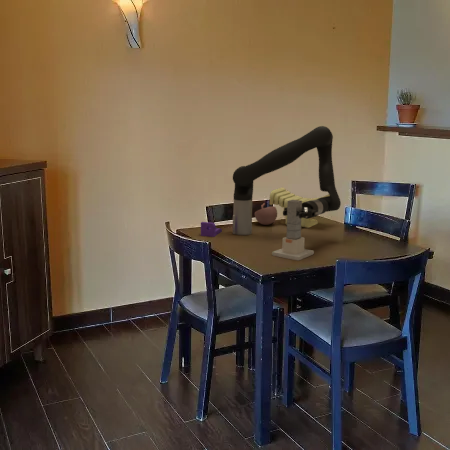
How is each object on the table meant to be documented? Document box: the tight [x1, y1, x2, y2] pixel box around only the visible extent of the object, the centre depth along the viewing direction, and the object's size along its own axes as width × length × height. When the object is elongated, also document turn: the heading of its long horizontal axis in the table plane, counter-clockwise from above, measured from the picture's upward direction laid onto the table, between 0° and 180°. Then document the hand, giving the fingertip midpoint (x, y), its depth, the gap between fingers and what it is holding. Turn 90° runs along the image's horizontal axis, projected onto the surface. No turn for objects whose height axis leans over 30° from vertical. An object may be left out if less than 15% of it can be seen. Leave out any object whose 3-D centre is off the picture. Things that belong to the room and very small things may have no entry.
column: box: [286, 200, 302, 240], centre depth 246 cm, size 5×5×22 cm
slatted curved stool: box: [269, 186, 330, 229], centre depth 305 cm, size 30×16×18 cm, turn 59°
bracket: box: [200, 221, 223, 238], centre depth 285 cm, size 12×7×7 cm, turn 162°
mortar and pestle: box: [254, 202, 278, 226], centre depth 306 cm, size 12×12×11 cm
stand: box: [271, 236, 315, 262], centre depth 248 cm, size 13×13×8 cm
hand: (291, 214), depth 243 cm, fingers open, 7 cm apart
